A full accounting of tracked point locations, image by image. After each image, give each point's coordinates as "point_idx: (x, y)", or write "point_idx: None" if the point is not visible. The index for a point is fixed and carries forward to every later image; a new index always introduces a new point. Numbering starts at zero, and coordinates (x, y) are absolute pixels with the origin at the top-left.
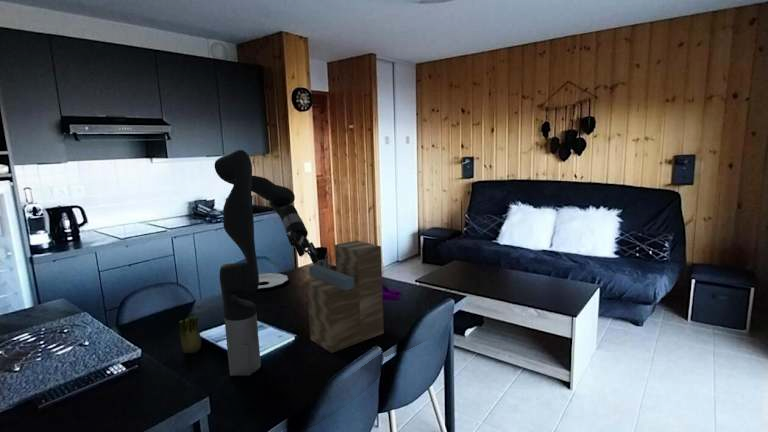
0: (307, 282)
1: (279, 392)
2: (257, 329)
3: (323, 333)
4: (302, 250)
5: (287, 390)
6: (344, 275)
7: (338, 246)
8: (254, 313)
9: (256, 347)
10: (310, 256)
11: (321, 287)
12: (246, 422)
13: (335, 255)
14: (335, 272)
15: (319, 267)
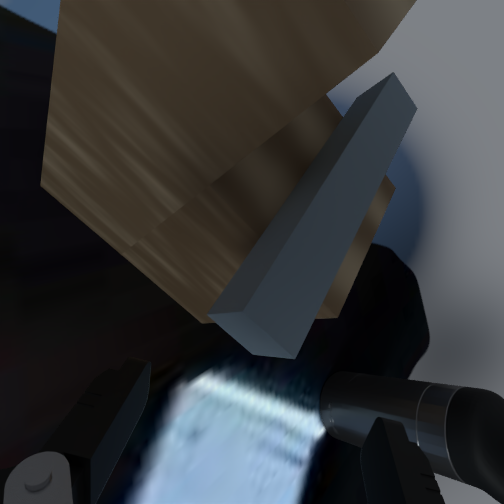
0: (338, 312)
1: (374, 292)
2: (409, 385)
3: None
4: (410, 456)
5: (368, 281)
6: (381, 107)
7: (396, 26)
8: (467, 388)
9: (382, 376)
10: (97, 495)
11: (375, 222)
12: (420, 304)
13: (293, 117)
14: (359, 149)
15: (304, 265)
